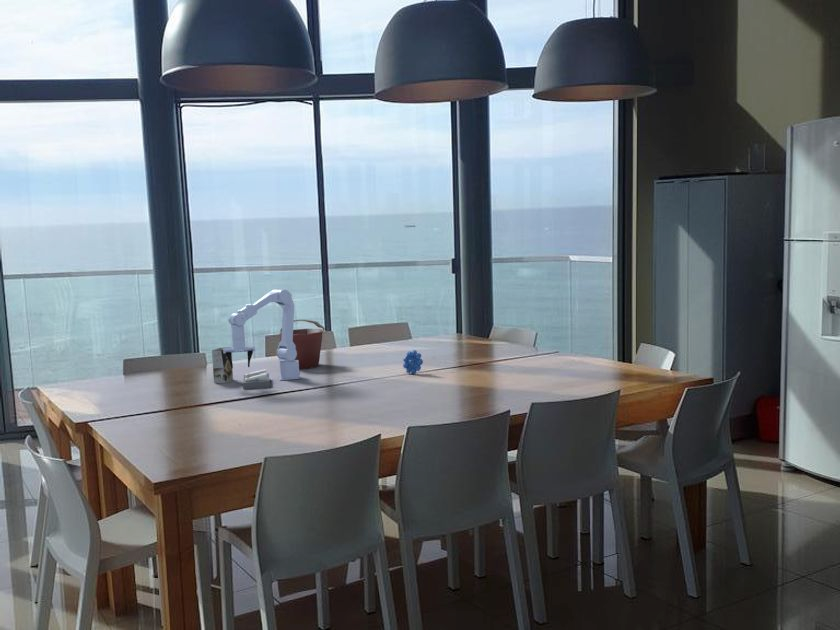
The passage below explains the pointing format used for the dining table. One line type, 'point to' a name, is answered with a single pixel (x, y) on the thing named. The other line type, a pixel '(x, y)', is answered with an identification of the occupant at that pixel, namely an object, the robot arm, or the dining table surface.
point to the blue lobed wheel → (412, 362)
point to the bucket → (307, 345)
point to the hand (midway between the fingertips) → (240, 367)
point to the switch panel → (256, 382)
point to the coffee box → (221, 366)
